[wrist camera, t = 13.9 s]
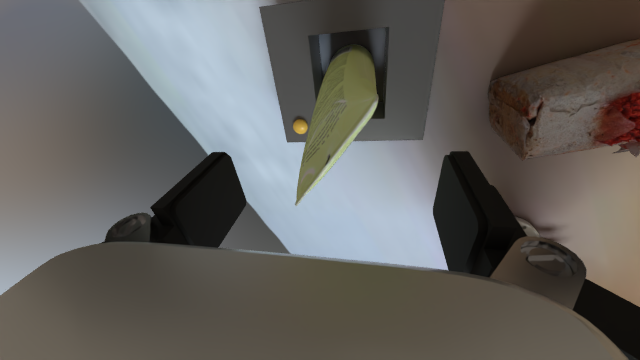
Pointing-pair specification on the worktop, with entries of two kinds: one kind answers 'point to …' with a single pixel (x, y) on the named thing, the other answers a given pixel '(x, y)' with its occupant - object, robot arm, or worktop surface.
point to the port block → (349, 15)
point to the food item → (571, 104)
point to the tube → (338, 113)
